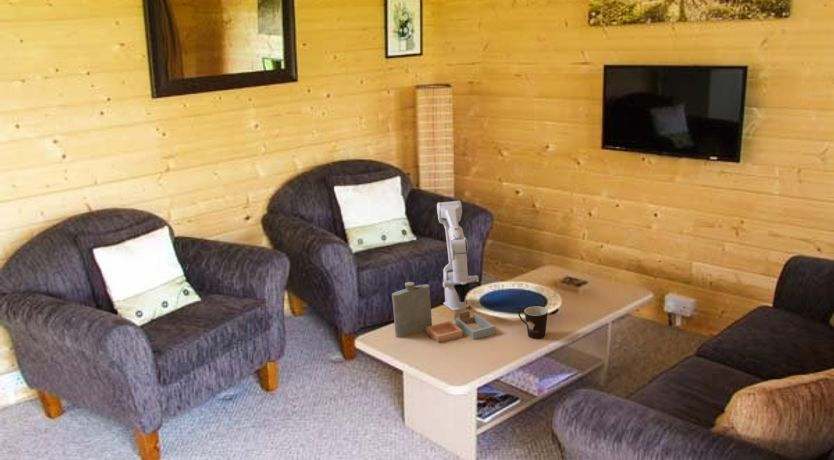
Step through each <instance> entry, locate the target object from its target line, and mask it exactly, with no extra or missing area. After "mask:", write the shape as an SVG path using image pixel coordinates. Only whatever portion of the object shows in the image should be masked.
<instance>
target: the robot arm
mask: <svg viewBox="0 0 834 460" xmlns="http://www.w3.org/2000/svg"><path fill="white" fill-rule="evenodd" d="M462 206H463V205H462V201H460V200H454V201H444V202H437V203H436V212H437V218H438V222H439V224H442V225H443V227H444V230H445V240H446V248H447V256H448V257H447V258H448V263H447V264H446V265H445V266H444V267H443V270H442V273H443V276H442V277H443V281H442V288H444V302H443V304H444V305H445V306H446V307H447V308H449V309H450V310H452V311H453V312H454V310H455V309H459V308H463V307H465V308H466V309H468V308H470V307H469V306H468V305H467V304H468V303H467V300H466V299H467V298H466V295H467V292H468V291H469V288H470V284H469V283H473V282H475V283H477V282H478V283H479V276H478V275H469V272H468V257H467V256H468V252H469V245H468V240H467V238H466V237H465V235H464V231H463V230H464V229H463V228H462V226H460V225H459V222H461V219H462V215H463V207H462ZM466 303H467V304H466Z"/></svg>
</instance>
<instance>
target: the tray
mask: <svg viewBox="0 0 834 460" xmlns="http://www.w3.org/2000/svg"><path fill="white" fill-rule="evenodd" d="M425 331H426V332H425V333H426V334H427V335H428V336H430V338H432V339H433V340H434V341H435V342H437V343H438V344H439V343H443V342H447V341H451V340H454V339H458V338H462V337H464V334H463V333H464V332H463V330H461V329H460V328H459V327H457V326H456V325H455V322H452V321H451V320H448V321H444V322H441V323H436V324H432V326H428V327H426V330H425Z"/></svg>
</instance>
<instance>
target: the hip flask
mask: <svg viewBox="0 0 834 460" xmlns="http://www.w3.org/2000/svg"><path fill="white" fill-rule="evenodd" d="M404 287H405V288H404V289H403V288H402V289H401V290H398V291H395V292H392V293H391V298H392V310H393V320H394V321H393V323H394V335H395V337H396V338H399V339H400V338H403V337H406V336H409V335H410V334H411V335H412V334H414V333H418V332H421V331H424V330H425V331H426V327H428V326H432V325H433V319H432V305H431V303H432V302H431V292H430V289H431V288H430V285H429V284H427V283H425V284H419V285H415V282H413V281H407V282H405V283H404Z"/></svg>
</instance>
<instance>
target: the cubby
mask: <svg viewBox="0 0 834 460" xmlns="http://www.w3.org/2000/svg"><path fill="white" fill-rule="evenodd" d="M473 321H474V322H475V323H476V324H477V325H478V326H480V327H481V328H478V329H473V328H472V327H471V326H469V325H468V324H467V323H466V322H465V323H464V322H463V321H461V320H460V319H459V318H456V319H455V318H454V324H455V325H456V326H457V327H459V328H460V329H461V330H463V333H464V334H465V335H467V336H468V337H470V338H471V339H472V340H475V339H480V338H483V337H487V336H492V335H495V334H496V326H495V325H493V324H492V323H491V322H489V321H488V320H487V319H485V318H483V317H482V316H481V315H480V314H478V313H473Z"/></svg>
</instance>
